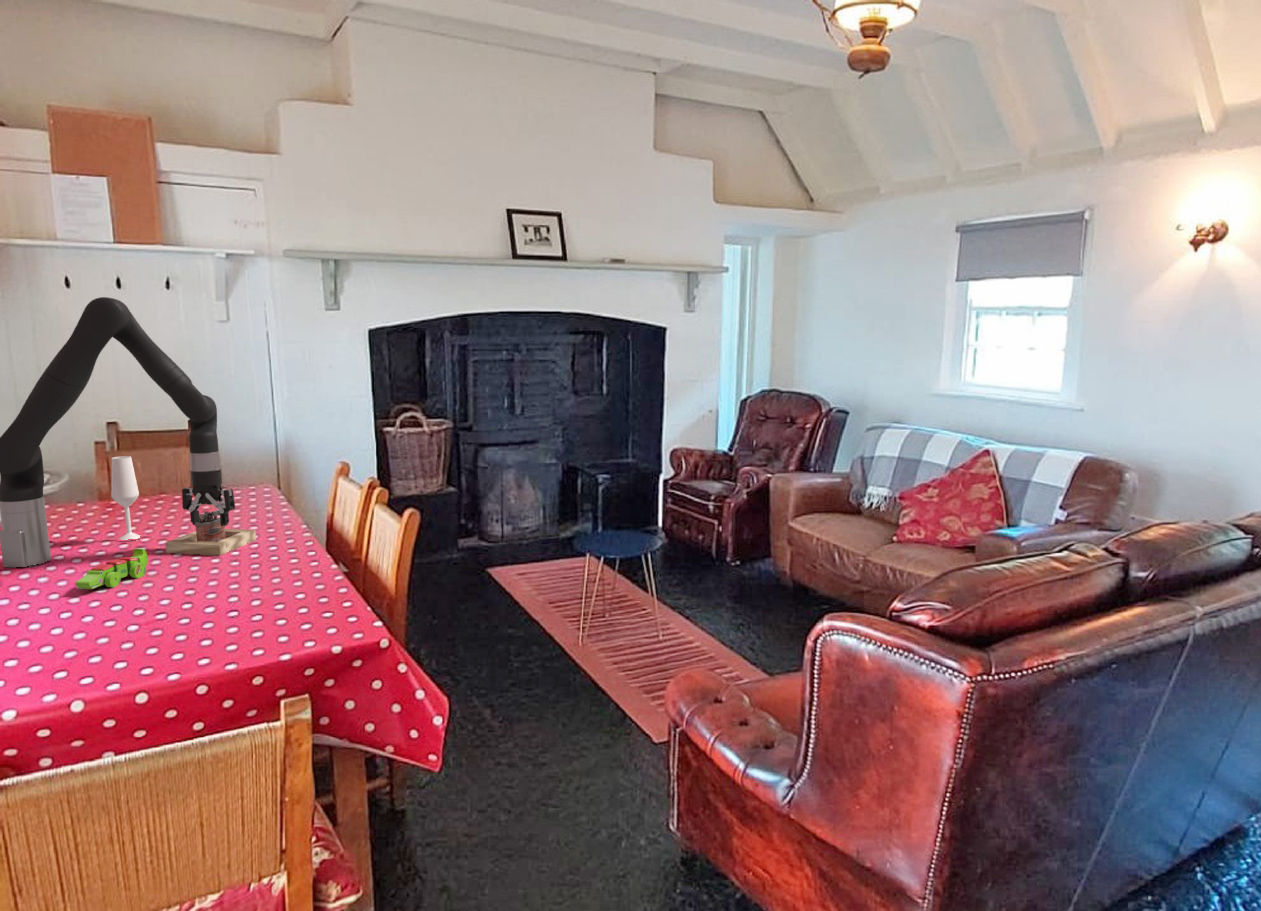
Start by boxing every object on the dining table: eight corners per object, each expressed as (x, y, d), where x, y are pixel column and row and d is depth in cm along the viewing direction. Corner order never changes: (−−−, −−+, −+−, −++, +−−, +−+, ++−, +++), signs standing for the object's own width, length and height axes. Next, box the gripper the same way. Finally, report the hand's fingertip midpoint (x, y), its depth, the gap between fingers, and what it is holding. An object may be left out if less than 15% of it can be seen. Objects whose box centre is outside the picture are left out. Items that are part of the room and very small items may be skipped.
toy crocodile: (93, 596, 181) (90, 571, 180) (68, 594, 182) (65, 569, 181) (159, 570, 200) (157, 547, 199) (136, 569, 201) (134, 546, 200)
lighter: (201, 550, 217) (197, 515, 215) (194, 548, 219) (191, 513, 217) (229, 544, 224) (226, 509, 222) (222, 542, 225) (220, 508, 224)
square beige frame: (220, 555, 212) (219, 544, 212) (166, 553, 214) (165, 542, 214) (256, 540, 228) (255, 529, 228) (205, 537, 230) (204, 528, 230)
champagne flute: (121, 543, 224) (113, 460, 221) (112, 539, 228) (103, 457, 225) (147, 538, 230) (139, 457, 226) (137, 534, 234) (129, 454, 230)
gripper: (172, 469, 215) (177, 527, 217) (220, 471, 213) (225, 529, 216) (191, 464, 222) (196, 520, 225) (237, 466, 220) (242, 522, 223)
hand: (210, 525), depth 220 cm, fingers open, 8 cm apart
